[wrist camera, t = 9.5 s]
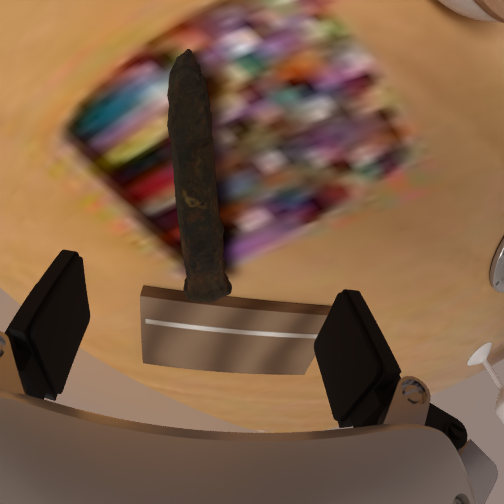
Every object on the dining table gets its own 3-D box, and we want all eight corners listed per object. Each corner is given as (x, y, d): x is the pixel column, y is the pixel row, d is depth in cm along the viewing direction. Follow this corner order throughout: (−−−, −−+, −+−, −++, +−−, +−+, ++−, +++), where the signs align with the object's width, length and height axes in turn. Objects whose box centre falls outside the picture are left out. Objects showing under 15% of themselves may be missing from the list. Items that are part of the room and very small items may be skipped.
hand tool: (229, 275, 28) (233, 309, 24) (186, 277, 27) (182, 311, 23) (230, 52, 18) (233, 42, 14) (173, 54, 17) (162, 46, 13)
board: (331, 306, 31) (336, 316, 29) (301, 365, 36) (304, 375, 34) (143, 285, 27) (139, 296, 25) (144, 353, 32) (142, 363, 30)
